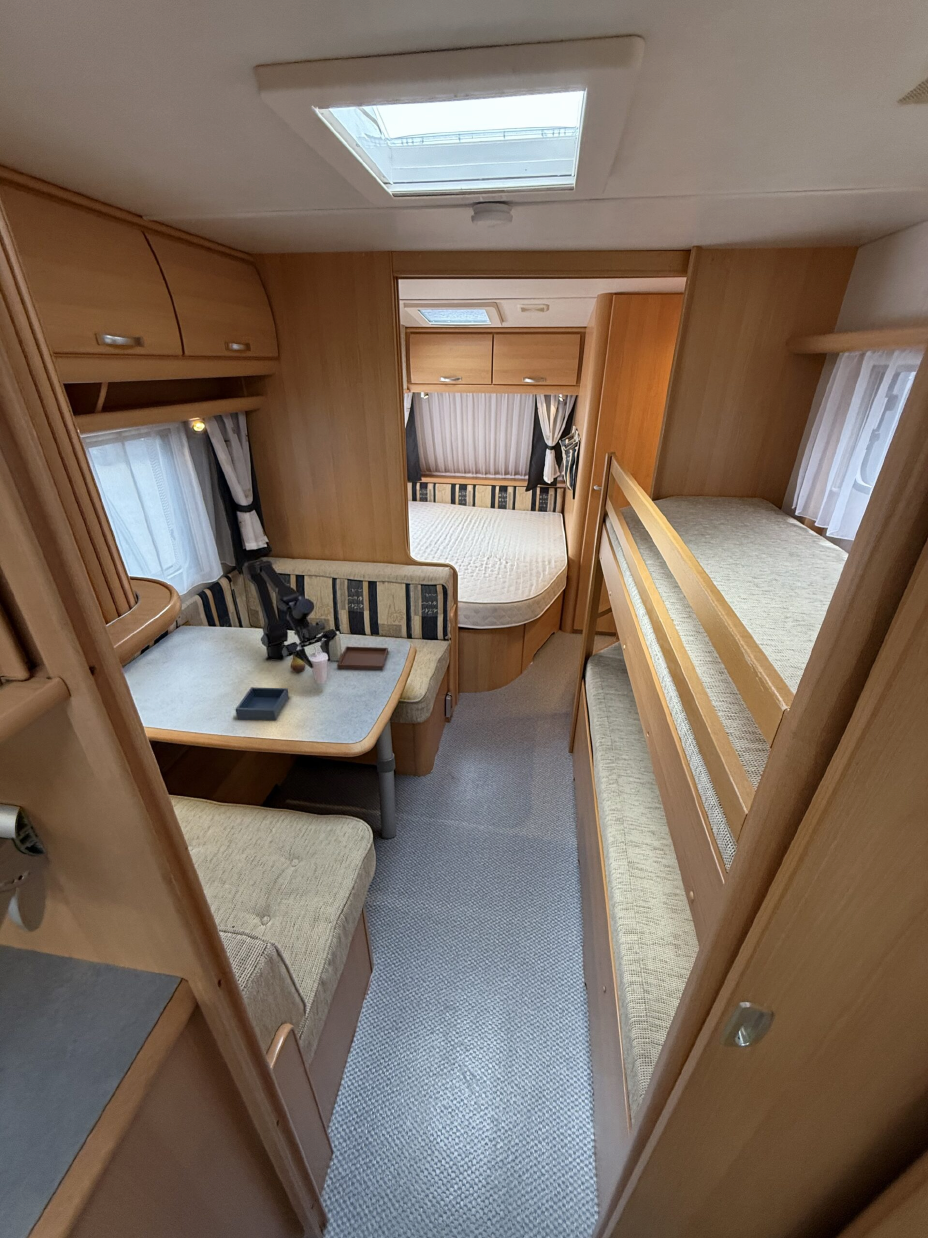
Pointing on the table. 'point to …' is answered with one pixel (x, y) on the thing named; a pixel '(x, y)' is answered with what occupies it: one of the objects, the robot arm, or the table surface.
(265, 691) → the bin
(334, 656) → the box
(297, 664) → the fruit
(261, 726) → the table surface
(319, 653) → the smoothie
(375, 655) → the tray
